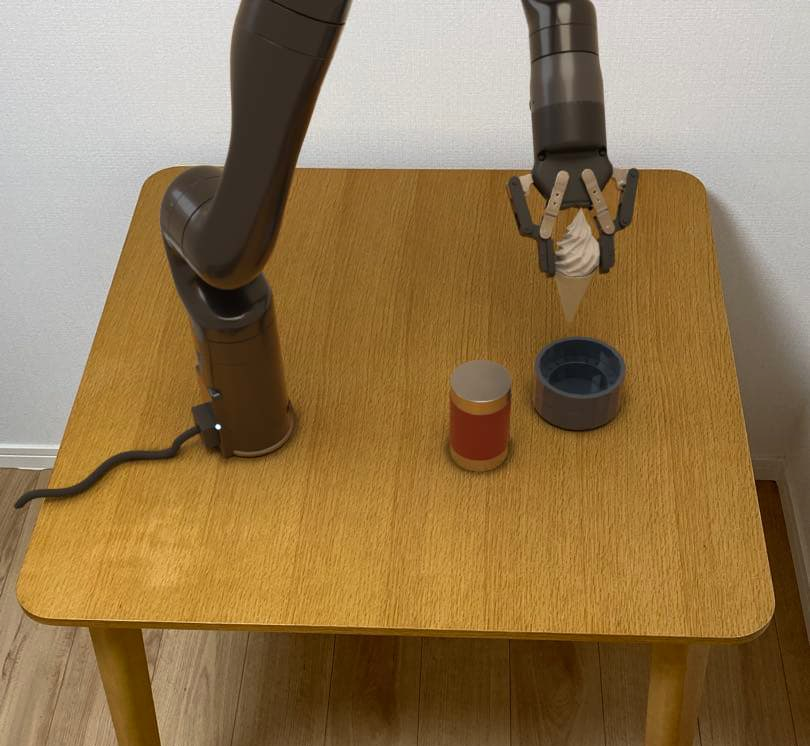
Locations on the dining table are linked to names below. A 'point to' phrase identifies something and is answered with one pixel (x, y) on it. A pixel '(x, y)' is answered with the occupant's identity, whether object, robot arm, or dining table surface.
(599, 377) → the bowl
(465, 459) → the tin can
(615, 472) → the dining table surface
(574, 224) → the ice cream cone
